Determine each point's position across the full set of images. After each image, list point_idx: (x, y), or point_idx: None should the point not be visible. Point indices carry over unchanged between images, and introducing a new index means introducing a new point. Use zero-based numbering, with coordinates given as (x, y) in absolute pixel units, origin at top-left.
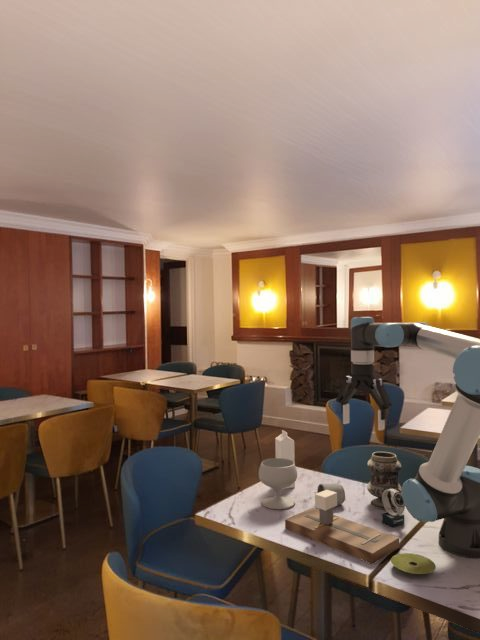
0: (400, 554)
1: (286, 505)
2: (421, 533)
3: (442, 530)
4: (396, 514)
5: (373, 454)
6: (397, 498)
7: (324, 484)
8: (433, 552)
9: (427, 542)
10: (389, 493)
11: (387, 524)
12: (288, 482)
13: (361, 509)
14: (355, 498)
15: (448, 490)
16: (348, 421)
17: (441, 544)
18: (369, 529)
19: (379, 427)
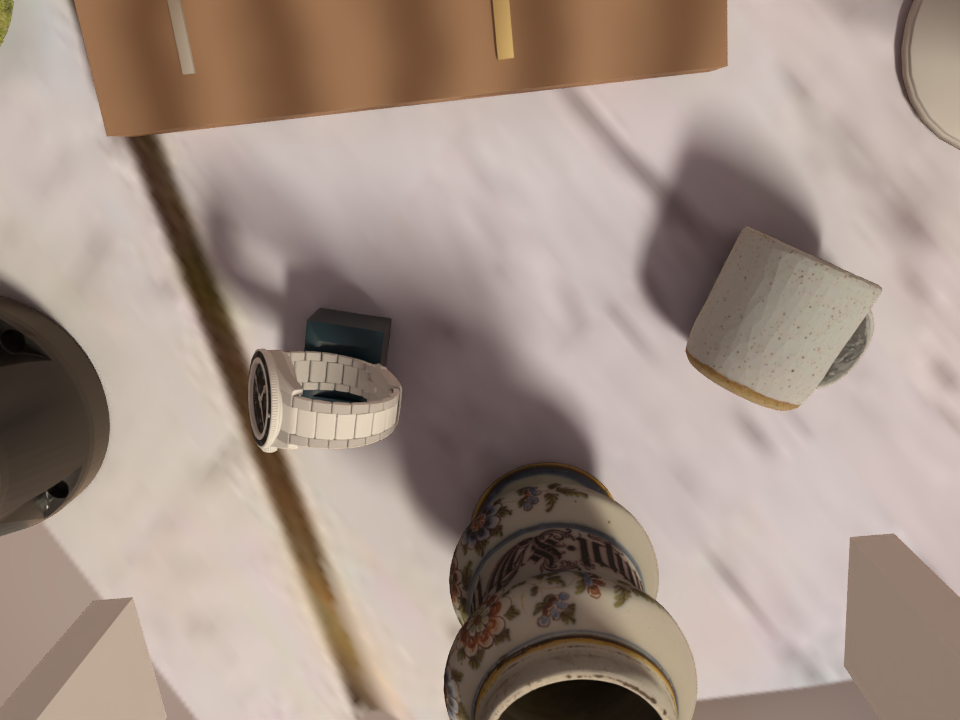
0: (5, 5)
1: (933, 28)
2: (191, 367)
3: (13, 360)
4: (291, 351)
5: (638, 694)
6: (264, 391)
7: (826, 286)
8: (16, 230)
9: (106, 302)
10: (469, 528)
11: (349, 314)
12: None
13: (583, 381)
14: (709, 481)
15: None
16: (861, 660)
17: (29, 312)
18: (271, 86)
19: (77, 632)
